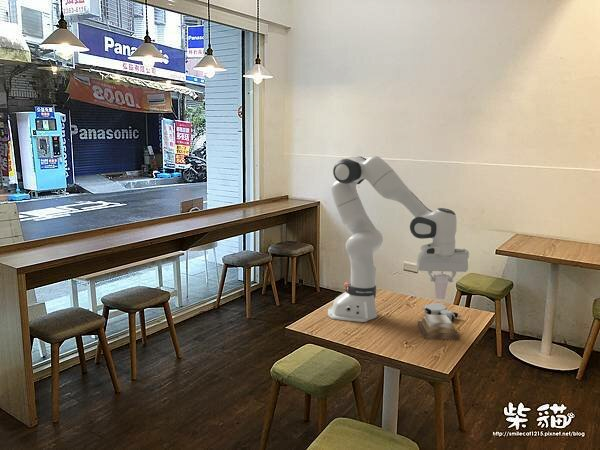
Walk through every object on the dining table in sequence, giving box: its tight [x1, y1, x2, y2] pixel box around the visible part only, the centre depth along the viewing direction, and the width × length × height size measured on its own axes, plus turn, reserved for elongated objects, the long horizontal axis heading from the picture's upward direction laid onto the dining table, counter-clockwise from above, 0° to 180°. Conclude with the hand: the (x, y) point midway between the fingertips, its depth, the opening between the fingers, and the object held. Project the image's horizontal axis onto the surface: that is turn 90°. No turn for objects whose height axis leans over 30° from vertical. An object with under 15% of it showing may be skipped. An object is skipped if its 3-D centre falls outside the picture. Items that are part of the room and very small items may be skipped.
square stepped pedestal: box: [416, 313, 460, 341], centre depth 207 cm, size 14×14×6 cm
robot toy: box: [420, 302, 462, 322], centre depth 224 cm, size 12×4×15 cm
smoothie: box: [432, 271, 450, 300], centre depth 203 cm, size 6×6×14 cm
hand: (441, 281), depth 203 cm, fingers closed on smoothie, 6 cm apart
